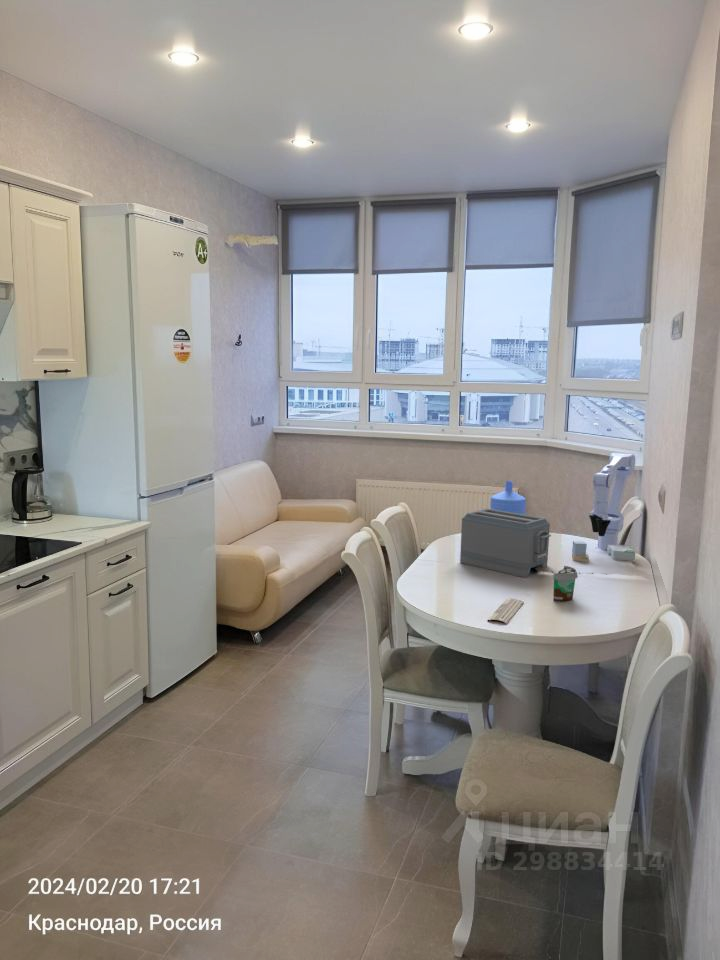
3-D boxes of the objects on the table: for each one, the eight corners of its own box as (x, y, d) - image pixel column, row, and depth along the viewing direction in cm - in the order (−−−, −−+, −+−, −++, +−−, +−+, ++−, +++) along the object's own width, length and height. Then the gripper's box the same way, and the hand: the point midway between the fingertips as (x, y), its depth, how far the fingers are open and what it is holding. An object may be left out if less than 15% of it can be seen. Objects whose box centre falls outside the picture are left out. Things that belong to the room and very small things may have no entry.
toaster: (533, 580, 270) (536, 526, 267) (458, 563, 292) (460, 513, 289) (556, 570, 284) (560, 519, 281) (483, 555, 306) (486, 507, 303)
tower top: (571, 556, 300) (572, 552, 300) (587, 558, 299) (587, 553, 299) (572, 560, 294) (573, 555, 294) (588, 561, 293) (588, 557, 293)
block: (572, 552, 299) (572, 540, 298) (582, 553, 299) (583, 541, 298) (574, 555, 294) (575, 543, 294) (585, 555, 294) (586, 543, 294)
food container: (570, 605, 242) (572, 576, 240) (552, 602, 245) (553, 573, 243) (580, 596, 252) (582, 568, 251) (562, 592, 255) (564, 565, 254)
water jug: (527, 547, 320) (530, 484, 316) (491, 546, 320) (494, 484, 316) (519, 539, 335) (523, 479, 331) (485, 538, 335) (488, 478, 331)
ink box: (614, 550, 297) (607, 543, 309) (612, 562, 298) (606, 554, 309) (635, 551, 296) (628, 544, 308) (634, 564, 297) (627, 556, 309)
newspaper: (506, 626, 222) (506, 621, 222) (483, 623, 225) (484, 617, 225) (523, 605, 243) (524, 600, 243) (502, 601, 246) (503, 596, 246)
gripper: (586, 498, 308) (583, 530, 310) (596, 504, 294) (594, 537, 295) (602, 499, 308) (600, 530, 310) (614, 505, 294) (611, 538, 295)
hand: (598, 534), depth 303 cm, fingers open, 7 cm apart
